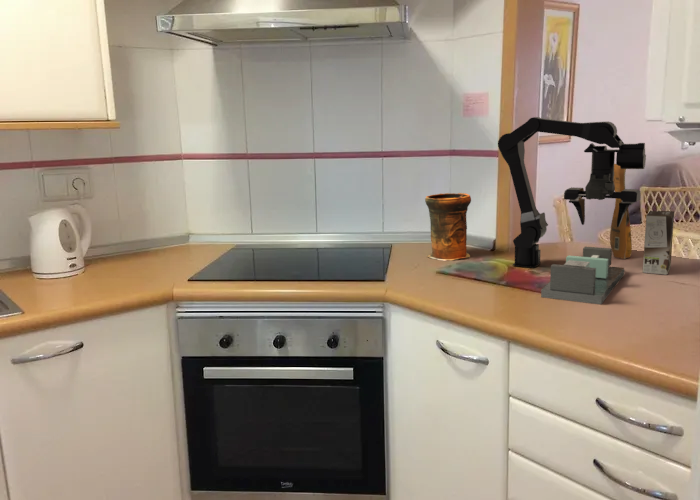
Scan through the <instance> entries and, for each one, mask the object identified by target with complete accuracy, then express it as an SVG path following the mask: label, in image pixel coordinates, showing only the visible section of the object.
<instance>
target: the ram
mask: <svg viewBox="0 0 700 500" xmlns="http://www.w3.org/2000/svg"><path fill="white" fill-rule="evenodd" d="M612 255H613V252H612V248H611V247H597V246H595V247H594V246H584V247H583V249H582V256H581V255H580V256H578V255H577V256H576V255H567V256H566V257H565V263H566V262H567V261H569V260H573V261H584V262H590V268H596V278H607V277H608V266H612Z"/></svg>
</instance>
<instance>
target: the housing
mask: <svg viewBox="0 0 700 500" xmlns="http://www.w3.org/2000/svg"><path fill="white" fill-rule="evenodd" d="M563 265H568V266H578V267H589V268H590V262H584V261H573V260H569V261H567V262H566V261H565V263H563Z"/></svg>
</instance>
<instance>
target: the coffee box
mask: <svg viewBox="0 0 700 500" xmlns="http://www.w3.org/2000/svg"><path fill="white" fill-rule="evenodd" d="M645 216H646V219H645V230H644V247H643V248H644V250H643V261H642V262H643V263H642V273H645V274H654V275H655V274H656V275H665V276H667V275H668V274H669V272H670V269H671V265H672V253H673V252H672V250H673V249H672V248H673V238H674V237H673V236H674V234H673V233H674V223H675V221H674V220H675V211H674V210H672V211H671V210H649V212H648V213H647V214H646V215H645Z"/></svg>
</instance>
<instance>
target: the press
mask: <svg viewBox="0 0 700 500" xmlns="http://www.w3.org/2000/svg"><path fill="white" fill-rule="evenodd" d="M624 275H625V267H622V266H621V267H620V266H612V265H610V266H608V277H607V278H596V268H589V267H578V266H568V265H564V264H556V263H552V264H551V265H550V276H549V278H550V280H549V282H548V283H547V284H546V285H544V287H542V288H541V290H540V292H541V293H540V294H541V295H540V298H547V299H553V300H554V299H555V300H563V301H570V302H579V303H586V304H587V303H588V304H595V305H602V304H603V303H604V301H605V300H606V299H607V297H608V296H610V294H611V293H612V291H613V290H614V289H615V287H616V286H617V285H618V284H619V282H620V281H621V279H622V278H623V277H624Z"/></svg>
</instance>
